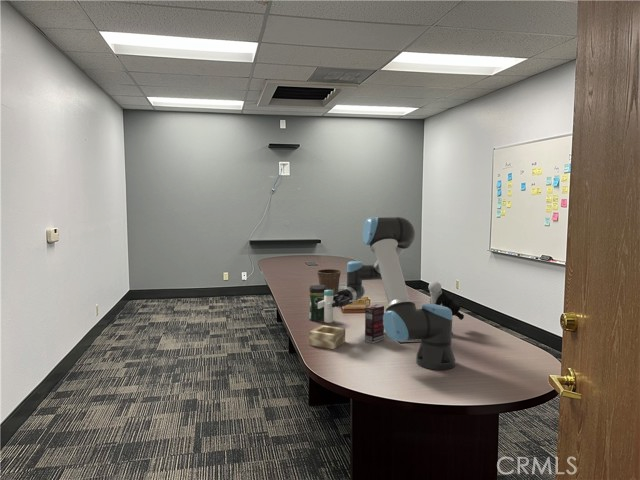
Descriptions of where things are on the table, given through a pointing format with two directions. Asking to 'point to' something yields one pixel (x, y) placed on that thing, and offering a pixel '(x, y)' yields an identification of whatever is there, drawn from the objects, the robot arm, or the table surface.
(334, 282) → the plant pot
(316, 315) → the coffee jar
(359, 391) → the table surface
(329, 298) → the marker
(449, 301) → the sculpture
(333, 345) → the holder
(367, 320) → the supplement box
